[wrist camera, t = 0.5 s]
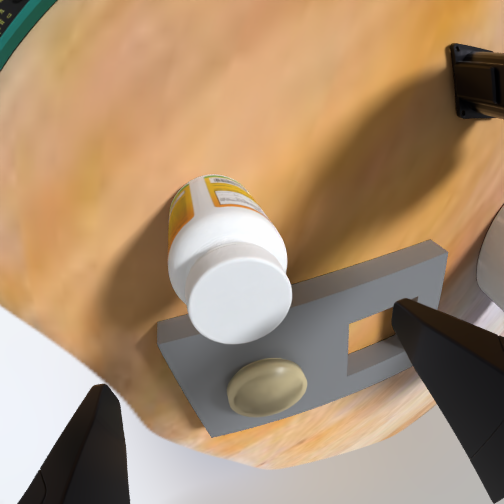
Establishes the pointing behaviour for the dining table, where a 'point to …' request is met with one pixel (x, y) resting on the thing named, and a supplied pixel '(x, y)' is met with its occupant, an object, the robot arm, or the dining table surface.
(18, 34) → the digital multimeter
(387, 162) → the dining table surface
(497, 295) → the utensil holder
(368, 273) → the plate
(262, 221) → the supplement bottle
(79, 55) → the dining table surface
